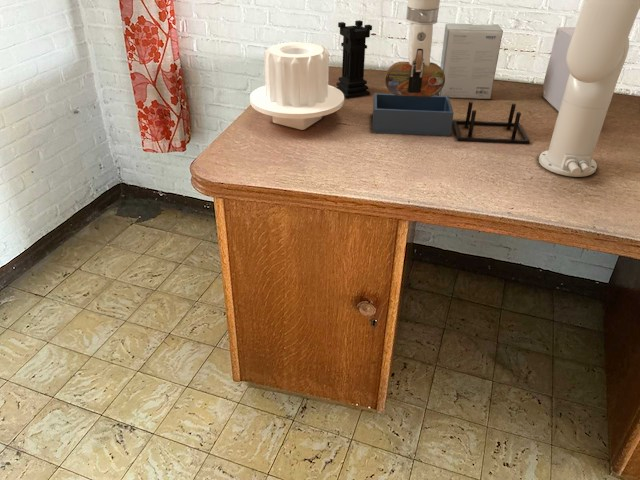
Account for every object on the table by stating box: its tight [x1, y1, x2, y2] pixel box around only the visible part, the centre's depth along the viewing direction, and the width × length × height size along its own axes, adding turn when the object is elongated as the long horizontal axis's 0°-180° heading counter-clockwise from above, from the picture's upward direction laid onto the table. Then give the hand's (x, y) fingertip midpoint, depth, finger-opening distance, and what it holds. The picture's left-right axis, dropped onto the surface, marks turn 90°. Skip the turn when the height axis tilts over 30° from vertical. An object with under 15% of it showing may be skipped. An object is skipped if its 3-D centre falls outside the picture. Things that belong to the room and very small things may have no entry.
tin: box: [384, 61, 445, 97], centre depth 139 cm, size 15×3×8 cm, turn 85°
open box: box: [371, 92, 454, 137], centre depth 144 cm, size 12×20×6 cm, turn 85°
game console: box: [542, 26, 576, 112], centre depth 150 cm, size 6×27×20 cm, turn 2°
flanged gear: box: [249, 41, 345, 131], centre depth 142 cm, size 25×25×19 cm
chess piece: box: [334, 19, 373, 99], centre depth 161 cm, size 8×8×20 cm
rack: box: [452, 101, 530, 145], centre depth 140 cm, size 12×18×7 cm, turn 85°
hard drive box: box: [438, 23, 504, 100], centre depth 160 cm, size 16×8×20 cm, turn 84°
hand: (413, 89), depth 140 cm, fingers closed on tin, 2 cm apart
